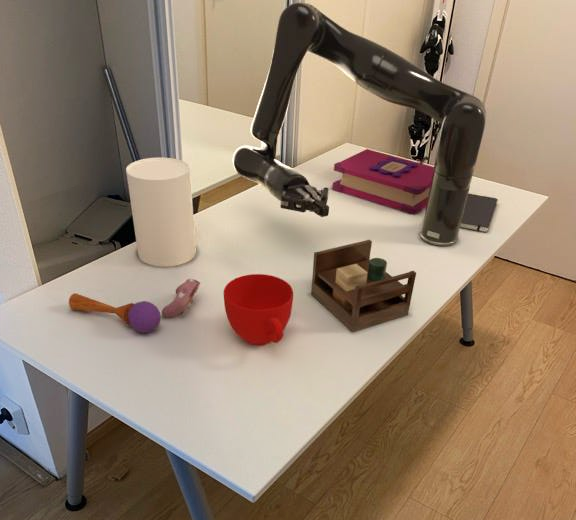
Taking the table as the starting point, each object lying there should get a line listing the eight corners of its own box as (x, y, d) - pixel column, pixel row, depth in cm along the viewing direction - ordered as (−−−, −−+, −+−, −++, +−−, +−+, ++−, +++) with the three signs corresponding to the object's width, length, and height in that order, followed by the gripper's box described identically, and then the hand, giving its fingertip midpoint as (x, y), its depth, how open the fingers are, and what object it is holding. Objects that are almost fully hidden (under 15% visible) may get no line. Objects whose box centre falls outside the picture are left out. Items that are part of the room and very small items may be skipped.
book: (366, 169, 186) (369, 145, 181) (447, 192, 174) (452, 167, 169) (329, 188, 173) (332, 163, 168) (414, 215, 160) (419, 188, 156)
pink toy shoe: (178, 327, 118) (191, 303, 113) (158, 316, 117) (170, 291, 113) (194, 302, 125) (207, 278, 121) (175, 291, 125) (187, 267, 120)
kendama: (82, 283, 119) (165, 300, 112) (86, 310, 122) (167, 328, 115) (61, 291, 114) (146, 310, 107) (66, 319, 117) (149, 339, 110)
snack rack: (363, 280, 132) (369, 239, 126) (407, 315, 122) (416, 272, 115) (311, 294, 127) (314, 252, 120) (352, 332, 116) (358, 288, 110)
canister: (189, 237, 145) (183, 155, 133) (201, 262, 136) (195, 177, 123) (134, 243, 142) (122, 159, 129) (142, 269, 132) (130, 182, 119)
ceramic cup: (245, 374, 105) (245, 328, 98) (216, 324, 116) (214, 280, 110) (310, 358, 109) (314, 313, 103) (276, 312, 121) (277, 269, 114)
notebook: (452, 195, 172) (439, 223, 157) (453, 190, 171) (440, 218, 156) (496, 203, 169) (487, 233, 153) (498, 198, 168) (488, 227, 152)
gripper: (260, 173, 132) (300, 200, 120) (310, 164, 137) (352, 190, 125) (261, 205, 136) (298, 234, 125) (309, 195, 142) (349, 223, 130)
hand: (325, 212), depth 125 cm, fingers closed
